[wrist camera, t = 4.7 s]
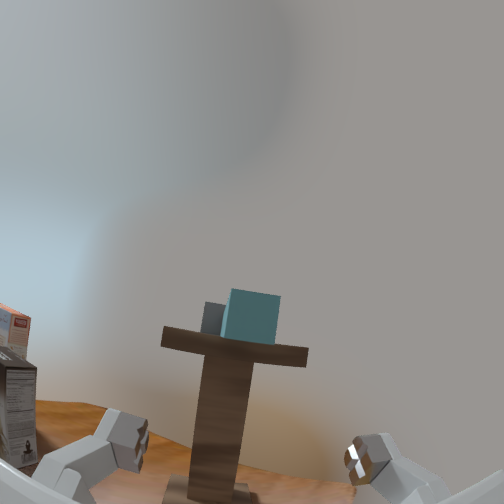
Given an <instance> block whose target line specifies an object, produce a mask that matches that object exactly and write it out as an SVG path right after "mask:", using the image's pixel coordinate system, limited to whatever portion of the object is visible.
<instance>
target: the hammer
mask: <svg viewBox="0 0 504 504" xmlns="http://www.w3.org/2000/svg"><path fill="white" fill-rule="evenodd" d="M280 297H281V296H276V295H270V294H263V293H257V292H250V291H245V290H238V289H231V292H230V295H229V298H228V301H227V304H226V305H222V304H216V303H210V302H205V307H204V313H203V319H202V325H201V332H200V333H205V334H211V335H217V336H221V337H223V338H228V339H234V340H241V341H248V342H255V343H263V344H271V345H274V343H275V336H276V328H277V320H278V313H279V305H280Z"/></svg>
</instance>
